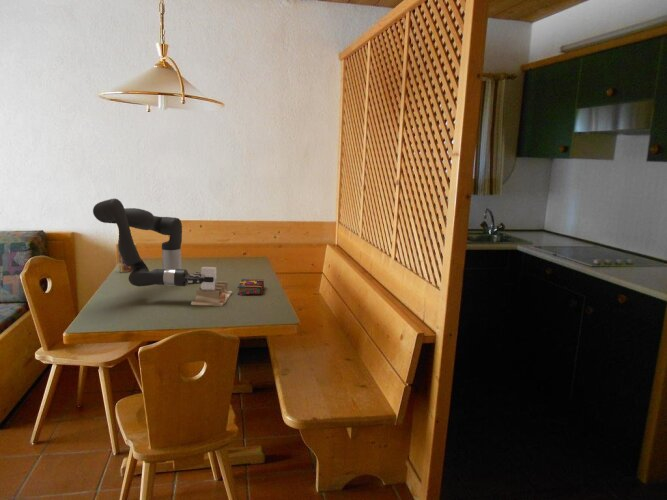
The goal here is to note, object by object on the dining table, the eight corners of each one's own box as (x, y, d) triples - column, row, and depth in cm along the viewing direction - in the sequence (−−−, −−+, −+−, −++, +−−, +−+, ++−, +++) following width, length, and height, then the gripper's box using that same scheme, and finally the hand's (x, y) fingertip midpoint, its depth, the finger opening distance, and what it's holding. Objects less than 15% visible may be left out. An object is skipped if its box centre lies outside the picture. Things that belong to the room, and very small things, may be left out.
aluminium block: (203, 294, 234) (202, 266, 232) (216, 295, 234) (216, 267, 232) (201, 296, 231) (201, 268, 229) (214, 297, 231) (214, 268, 229)
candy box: (122, 273, 282) (120, 245, 279) (118, 271, 285) (117, 244, 282) (138, 270, 288) (136, 243, 285) (134, 269, 291) (133, 242, 288)
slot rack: (203, 292, 249) (203, 280, 248) (232, 293, 248) (232, 281, 247) (191, 304, 229) (190, 291, 228) (222, 305, 229) (222, 292, 228)
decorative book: (264, 287, 261) (264, 278, 260) (261, 296, 245) (261, 286, 244) (241, 287, 261) (241, 277, 260) (237, 296, 245) (237, 286, 244)
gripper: (170, 272, 224) (210, 274, 224) (180, 265, 238) (218, 267, 237) (170, 289, 225) (210, 291, 225) (180, 281, 239) (218, 283, 239)
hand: (214, 278), depth 231 cm, fingers closed on aluminium block, 3 cm apart
